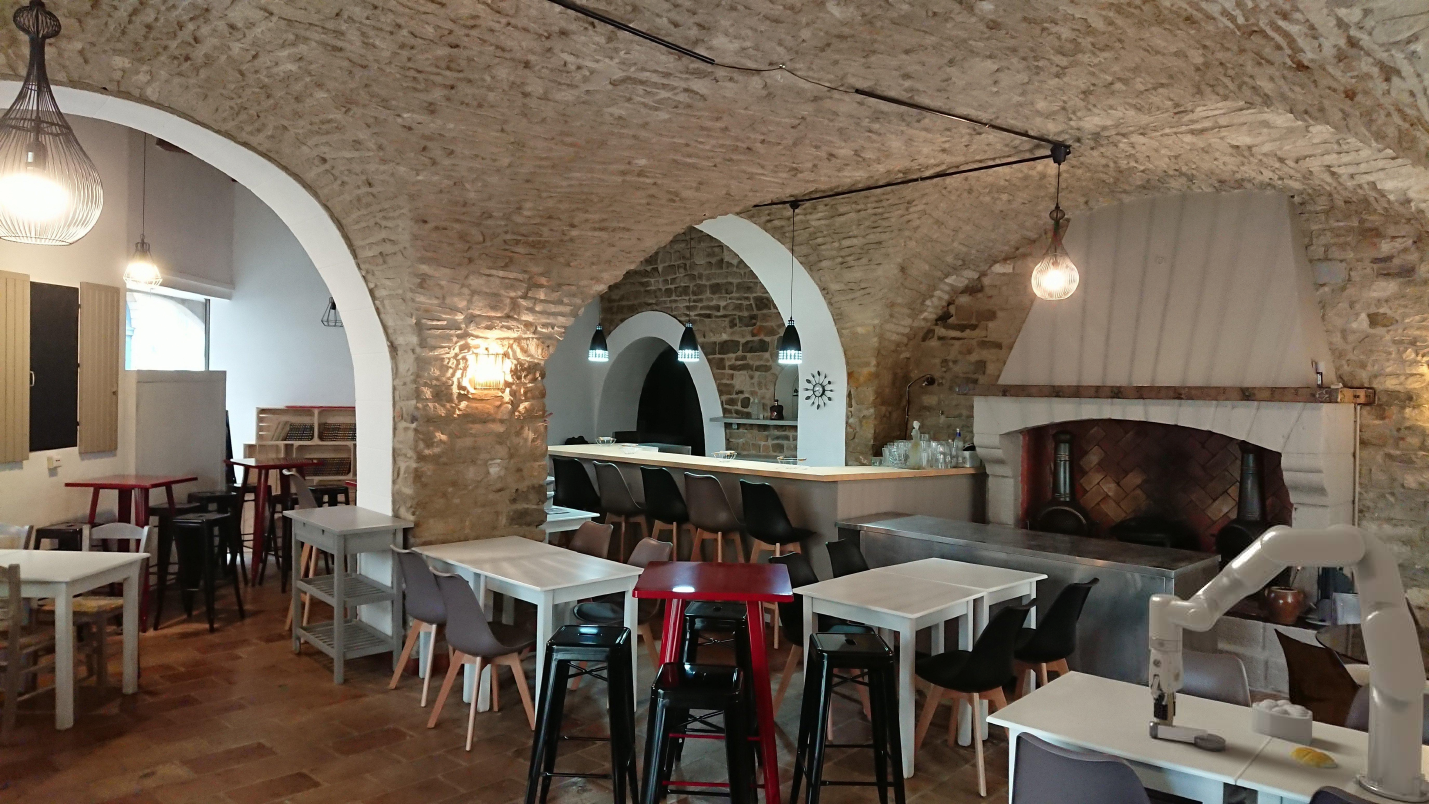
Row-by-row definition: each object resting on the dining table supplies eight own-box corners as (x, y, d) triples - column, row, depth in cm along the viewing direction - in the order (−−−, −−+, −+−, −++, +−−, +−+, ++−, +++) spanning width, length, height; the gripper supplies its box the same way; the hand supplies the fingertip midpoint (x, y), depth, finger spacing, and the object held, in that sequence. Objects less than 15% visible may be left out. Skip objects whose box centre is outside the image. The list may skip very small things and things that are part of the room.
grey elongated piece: (1223, 743, 221) (1224, 729, 221) (1226, 753, 215) (1227, 738, 215) (1148, 731, 228) (1149, 717, 228) (1149, 741, 222) (1150, 726, 222)
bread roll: (1309, 757, 218) (1309, 741, 218) (1342, 773, 209) (1343, 756, 209) (1281, 760, 216) (1281, 743, 216) (1313, 775, 207) (1314, 758, 207)
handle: (1176, 737, 222) (1177, 677, 222) (1148, 731, 226) (1149, 672, 226) (1180, 732, 226) (1180, 672, 226) (1152, 726, 230) (1153, 668, 230)
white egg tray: (1308, 749, 223) (1309, 714, 223) (1248, 736, 231) (1249, 702, 231) (1313, 738, 231) (1314, 704, 231) (1254, 725, 239) (1255, 692, 239)
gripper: (1167, 653, 218) (1166, 728, 218) (1194, 642, 229) (1193, 713, 229) (1135, 646, 223) (1134, 720, 223) (1164, 636, 234) (1163, 706, 234)
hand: (1164, 716), depth 226 cm, fingers closed on handle, 3 cm apart
